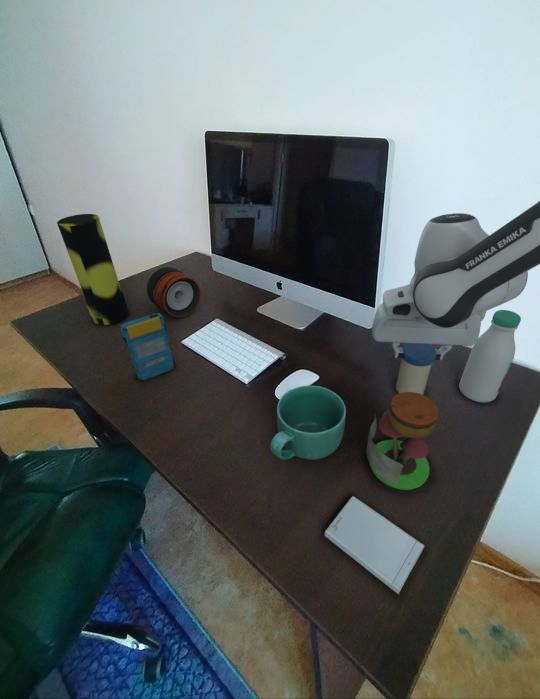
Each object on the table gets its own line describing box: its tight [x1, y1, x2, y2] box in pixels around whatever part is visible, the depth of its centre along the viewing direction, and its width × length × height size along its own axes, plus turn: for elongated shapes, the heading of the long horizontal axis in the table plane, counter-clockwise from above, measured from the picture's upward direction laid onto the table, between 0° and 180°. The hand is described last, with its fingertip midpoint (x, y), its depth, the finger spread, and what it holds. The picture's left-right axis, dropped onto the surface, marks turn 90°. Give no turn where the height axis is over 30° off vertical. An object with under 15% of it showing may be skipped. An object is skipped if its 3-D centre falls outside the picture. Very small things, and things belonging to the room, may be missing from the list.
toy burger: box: [365, 392, 439, 491], centre depth 64 cm, size 12×13×15 cm
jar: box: [395, 358, 433, 395], centre depth 81 cm, size 6×6×10 cm
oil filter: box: [146, 266, 201, 318], centre depth 114 cm, size 13×12×13 cm
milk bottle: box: [458, 309, 522, 403], centre depth 77 cm, size 8×8×20 cm
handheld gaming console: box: [119, 312, 175, 381], centre depth 88 cm, size 10×4×15 cm, turn 123°
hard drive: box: [324, 495, 425, 595], centre depth 56 cm, size 2×8×12 cm
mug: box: [269, 385, 347, 461], centre depth 69 cm, size 17×13×10 cm
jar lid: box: [401, 343, 436, 366], centre depth 78 cm, size 7×7×2 cm
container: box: [56, 213, 129, 326], centre depth 106 cm, size 11×11×30 cm
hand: (417, 357), depth 79 cm, fingers closed on jar lid, 7 cm apart
